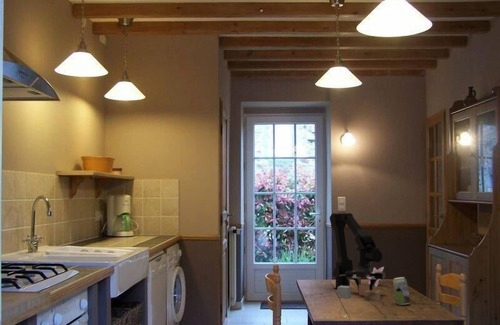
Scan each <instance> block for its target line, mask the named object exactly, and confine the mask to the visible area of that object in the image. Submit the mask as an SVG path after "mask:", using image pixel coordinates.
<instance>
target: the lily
mask: <svg viewBox="0 0 500 325" xmlns="http://www.w3.org/2000/svg"><path fill="white" fill-rule="evenodd" d="M384 268H385V266H382V267H380V268H378V269H377V268H376V267H373V270H372V273H376V272H384ZM366 278H367V279H368V283H367V284H370V279H372V278H371V277H366ZM380 280H381V279H378V280H376V282H375V285H374V287H378V285H382V284H381V281H380Z"/></svg>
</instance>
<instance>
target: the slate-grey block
mask: <svg viewBox="0 0 500 325" xmlns="http://www.w3.org/2000/svg"><path fill="white" fill-rule="evenodd" d="M351 297H352V286H351V285H350V286H339V287H338V289H337V298H339V299H349V298H351Z"/></svg>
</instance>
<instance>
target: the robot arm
mask: <svg viewBox="0 0 500 325" xmlns="http://www.w3.org/2000/svg"><path fill="white" fill-rule="evenodd" d="M329 222H330V226H331V228H332V229H333V230H334V234H335V242H336V243H335V245H336V251H337V259H336V261H335V268H334V269H333V271H332V277H334V278H335V287H334V289H335V290H338V287H339V286H351V280H354V281H355V284H356V286H357V289H358V290H359V284H362V278H367V277H371V278H372V279H369V280H370V290H373V291H374V287H375V282H376V280H378V279H380V280H384V279H385V278H386V273H385V271H382V272H376V273H373V270H372V262H374V263H380V262H381V261H382V259H383V254H382V252H381V251H380V250H379V247H377V244H376V243H375V241H374V239H373V236H372V235H371V234H370V233H369V232H367V231H366V230H365V229H363V228H362V227H361V225H360V224H359V223H358V222H357V220H356V219H355V217H354V215H353V214H352V213H351V212H344V213H343V212H338V213H337V212H336V213H335V212H334V213H333V212H332V213H331V214H330V216H329ZM346 226H347V227H348V229H350V231H351V233H352V234H353V236H354V241H355V244H356V245H357V246H358V247H357V248H356V251H357V252H358V264H357V267H356V268H355V270H354V265H353V260H352V259H350V258H349V256H348V249H347V242H346V241H347V240H346V232H345V228H346ZM350 278H351V280H350Z"/></svg>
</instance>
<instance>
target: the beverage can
mask: <svg viewBox="0 0 500 325" xmlns="http://www.w3.org/2000/svg"><path fill="white" fill-rule="evenodd" d="M392 285H393V291H394V298H395V302H396V304H397V305H399V306H404V305H405V306H406V305H408V304H410V303H411V297H410V293H409V287H408V282H407V279H406V278H405V277H404V276H399V277H394V278H393V280H392Z"/></svg>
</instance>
